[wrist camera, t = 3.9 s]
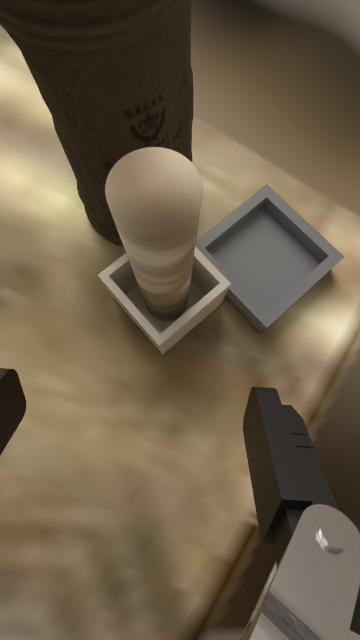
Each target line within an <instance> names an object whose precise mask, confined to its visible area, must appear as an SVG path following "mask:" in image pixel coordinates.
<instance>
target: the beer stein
mask: <svg viewBox="0 0 360 640" xmlns="http://www.w3.org/2000/svg"><path fill="white" fill-rule="evenodd" d="M191 4H192V0H0V25H1V26H2V27H3V28H4V29H5V30H6V31H7V33H8V34H9V35H10V37H11V38H12V39H13V41H14V42H15V43H16V44H17V46H18V47H19V48H20V50H21V52H22V54H23V56H24V59H25V61H26V63H27V65H28V67H29V69H30V71H31V74H32V76H33V78H34V80H35V82H36V84H37V86H38V88H39V91H40V93H41V95H42V98H43V100H44V101H45V103H46V105H47V107H48V108H49V110H50V112H51V114H52V118H53V122H54V127H55V130H56V133H57V135H58V137H59V140H60V142H61V144H62V147H63V149H64V151H65V154H66V156H67V158H68V160H69V163H70V165H71V167H72V169H73V172H74V174H75V177H76V179H77V190H78V193H79V197H80V198H81V200H82V202H83V204H84V206H85V211H86V214H87V217H88V219H89V221H90V222H91V224H92V226H93V227H94V228H95V229H96V231H97V232H98V233H99V234H101V235H102V236H103V237H104V238H106V239H107V240H109V241H111V242H114V243H116V244H119V245H123V243H122V240H121V238H120V235H119V232H118V230H117V227H116V224H115V222H114V219H113V216H112V214H111V211H110V208H109V206H108V203H107V200H106V195H105V185H106V180H107V177H108V174H109V173H110V171H111V169H112V168H113V166H114V165H115V164H116V163H117V162H118V161H119V160H120V159H121V158H122V157H124V156H125V155H127V154H128V153H131V152H133V151H135V150H138V149H142V148H148V147H161V148H167V149H171V150H173V151H176V152H178V153H180V154H182V155H183V156H185V157H186V158H187V159H189V160H190V161H191V162H192V151H191V141H192V120H193V73H192V69H191V65H190V64H191V61H190V60H191V54H190V53H191V50H190V49H191V48H190V47H191V43H190V42H191V38H190V37H191V35H190V34H191V33H190V32H191Z"/></svg>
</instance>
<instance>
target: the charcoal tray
mask: <svg viewBox="0 0 360 640" xmlns="http://www.w3.org/2000/svg"><path fill="white" fill-rule="evenodd" d="M195 247H196V248H197V249H198V250H199V251H200V252H201V253H202V254H203V255H204V256H205V257H206V258H207V259H208V260H209V261H210V262H211V263H212V264H213V265H214V266H215V267H216V268H217V269H218V271H219V272H220V273H221V274H222V275H223V276H224V277H225V278H226V279H227V280H228V281H229V282H230V283H231V285H230V287H229V289H228V291H227V293H226V295H225V298H226V299H227V300H228V301H229V302H230V303H231V304H232V305H233V306H234V308H235V309H236V310H237V311H238V312H239V313H240V314H241V315H242V316H243V317H244V318H245V319H246V320H247V321H248V322H249V323H250V324H251V325H252V326H253V328H254V329H255V330H256V331H257V332H258V333H260V332H261V331H263V330H264V329H266V328H267V327H268V326H269V325H271V324H272V323H273V322H274V321H275V320H276V319H277V318H278V317H279V316H280V315H281V314H283V313H284V312H285V311H286V310H287V309H288V308H289V307H290V306H291V305H292V304H294V303H295V302H296V301H297V300H298V299H299V298H300V297H301V296H302V295H303V294H304V293H306V292H307V291H308V290H309V289H310V288H311V287H312V286H313V285H314V284H315V283H316V282H318V281H319V280H320V279H321V278H322V277H323V276H324V275H325V274H326V273H327V272H328V271H330V270H331V269H332V268H333V267H334V266H335V265H336V264H337V263H338V262H339V261H340V260H342V259H343V258H344V256H343V255H342V254H341V253H340V252H339V251H338V250H337V249H335V248H334V247H333V246H332V245H331V244H330V243H329V242H328V241H327V240H326V239H325V238H324V237H323V236H322V235H320V234H319V233H318V232H317V231H316V230H315V229H314V228H313V227H312V226H311V225H310V224H309V223H308V222H306V221H305V220H304V219H303V218H302V217H301V216H300V215H299V214H298V213H297V212H296V211H295V210H294V209H293V208H291V207H290V206H289V205H288V204H287V203H286V202H285V201H284V200H283V199H282V198H281V197H280V196H279V195H278V194H276V193H275V192H274V191H273V190H272V189H271V188H270V187H269V186H268V185H267V184H266V185H265V186H264V187H263V188H261V189H260V190H259V191H258V192H256V193H255V194H254V195H253V196H251V197H250V198H249V199H248V200H246V201H245V202H244V203H243V204H242V205H240V206H239V207H238V208H237V209H235V210H234V211H233V212H232V213H230V214H229V215H228V216H227V217H225V218H224V219H223V220H222V221H220V222H219V223H218V224H217V225H216V226H214V227H213V228H212V229H211V230H209V231H208V232H207V233H206V234H204V235H203V236H202V237H201V238H199V239H198V240H197V241H196V244H195Z"/></svg>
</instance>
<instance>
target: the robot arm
mask: <svg viewBox="0 0 360 640" xmlns="http://www.w3.org/2000/svg"><path fill="white" fill-rule="evenodd" d="M25 410H26V399H25V396H24V393H23V390H22V386H21V383H20V380H19V377H18V374H17V372H16V371H15V370H14V369H3V368H0V455H1V453H2V452H3V450H4V448H5V447H6V445H7V443H8V442H9V440H10V439H11V437H12V435H13V434H14V432H15V430H16V429H17V427H18V425H19V424H20V422H21V420H22V419H23V417H24V414H25ZM243 433H244V440H245V446H246V452H247V458H248V464H249V470H250V476H251V482H252V488H253V494H254V500H255V507H256V513H257V519H258V525H259V531H260V537H261V543H262V544H273V545H274V549H275V555H276V562H275V564H274V566H273V569H272V571H271V573H270V575H269V577H268V580H267V582H266V584H265V587H264V589H263V591H262V593H261V595H260V598H259V600H258V602H257V604H256V606H255V609H254V611H253V613H252V615H251V618H250V620H249V622H248V624H247V626H246V629H245V631H244V633H243V635H242V637H241V639H240V640H347V638H348V634H349V630H351V631H353V632H355V633H357V634H359V635H360V531H359V530H357V528H356V527H355V525H354V524H353V523H352V522H351V521H350V520H349V519H348V518H347V517H346V516H345V515H344V514H343V513H341V512H340V511H339V509H338V507H337V506H336V503H335V501H334V499H333V496H332V494H331V491H330V489H329V486H328V483H327V481H326V478H325V475H324V473H323V470H322V468H321V465H320V463H319V460H318V457H317V455H316V452H315V450H314V449H313V444H312V442H311V439H310V437H309V436H308V435H309V434H308V431H307V429H306V426H305V423H304V421H303V419H302V417H301V416H300V415H299V414H298V413H297V411H296V410H295V409H294V408H293V407H292V406H291V405H282V404H281V401H280V398H279V395H278V392H277V390H276V389H275V388H264V387H252V388H251V391H250V395H249V399H248V403H247V407H246V411H245V414H244V420H243Z"/></svg>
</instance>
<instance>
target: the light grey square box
mask: <svg viewBox="0 0 360 640" xmlns="http://www.w3.org/2000/svg"><path fill="white" fill-rule="evenodd" d="M98 276H99V278H100V279H101V281H102V282H103V284H104V285H105V286H106V288H107V289H108V291H109V292H110V293H111V295H112V296H113V298H114V299H115V300H116V301H117V302H118V304H119V305H120V306H121V307H122V308H123V309H124V311H125V312H126V313H127V314H128V315H129V316H130V318H131V319H132V320H133V321H134V322H135V323H136V324H137V326H138V327H139V328H140V329H141V330H142V331H143V333H144V334H145V335H146V336H147V337H148V338H149V340H150V341H151V342H152V343H153V344H154V345H155V346H156V348H157V349H158V350H159V351H160V352H161V353H162V355H163V354H164V353H165V352H167V351H168V350H169V349H170V348H171V347H172V346H174V345H175V344H176V343H177V342H178V341H179V340H180V339H182V338H183V337H184V336H185V335H186V334H187V333H188V332H190V331H191V330H192V329H193V328H194V327H195V326H197V325H198V324H199V323H200V322H201V321H202V320H203V319H205V318H206V317H207V316H208V315H209V314H210V313H212V312H213V311H214V310H215V309H216V308H217V307H218V306H220V304H221V302H222V300H223V298H224V297H225V295H226V293H227V291H228V289H229V287H230V285H231V283H230V282H229V281H228V280H227V279H226V278H225V277H224V276H223V275H222V274H221V273H220V272H219V271H218V269H217V268H216V267H215V266H214V265H213V264H212V263H211V262H210V261H209V260H208V259H207V258H206V257H205V256H204V255H203V254H202V253H201V252H200V251H199V250H198V249H197V248H196V247H195V251H194V259H193V267H192V274H191V282H190V289H189V297H188V304H187V308H186V310H185V312H184V313H183V314H182V315H181V316H180V317H178V318H177V319H174V320H171V321H162V320H159V319H156V318H155V317H153V316H152V315H151V314H150V313H149V311H148V309H147V307H146V304H145V302H144V299H143V296H142V294H141V291H140V288H139V286H138V283H137V280H136V278H135V275H134V272H133V270H132V267H131V264H130V262H129V259H128V256H127V254H126V253H125V254H124V255H123V256H121V257H120V258H119V259H117V260H116V261H115V262H114V263H112V264H111V265H110V266H108V267H107V268H106V269H105V270H103V271H102V272H101V273H99V274H98Z"/></svg>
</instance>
